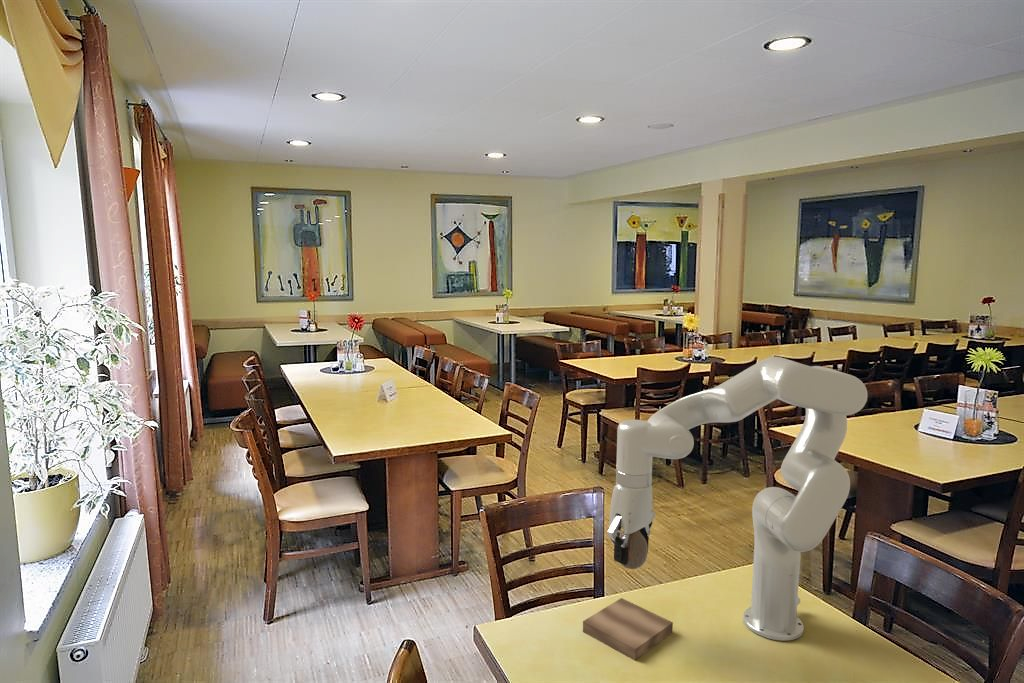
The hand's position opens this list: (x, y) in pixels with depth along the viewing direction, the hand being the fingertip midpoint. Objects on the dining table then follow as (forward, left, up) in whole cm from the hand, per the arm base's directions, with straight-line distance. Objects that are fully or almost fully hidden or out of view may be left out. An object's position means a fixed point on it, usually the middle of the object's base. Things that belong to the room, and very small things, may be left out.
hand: (631, 556), depth 138 cm
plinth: (0, 0, -18) cm, 18 cm away
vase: (0, 0, -2) cm, 2 cm away
